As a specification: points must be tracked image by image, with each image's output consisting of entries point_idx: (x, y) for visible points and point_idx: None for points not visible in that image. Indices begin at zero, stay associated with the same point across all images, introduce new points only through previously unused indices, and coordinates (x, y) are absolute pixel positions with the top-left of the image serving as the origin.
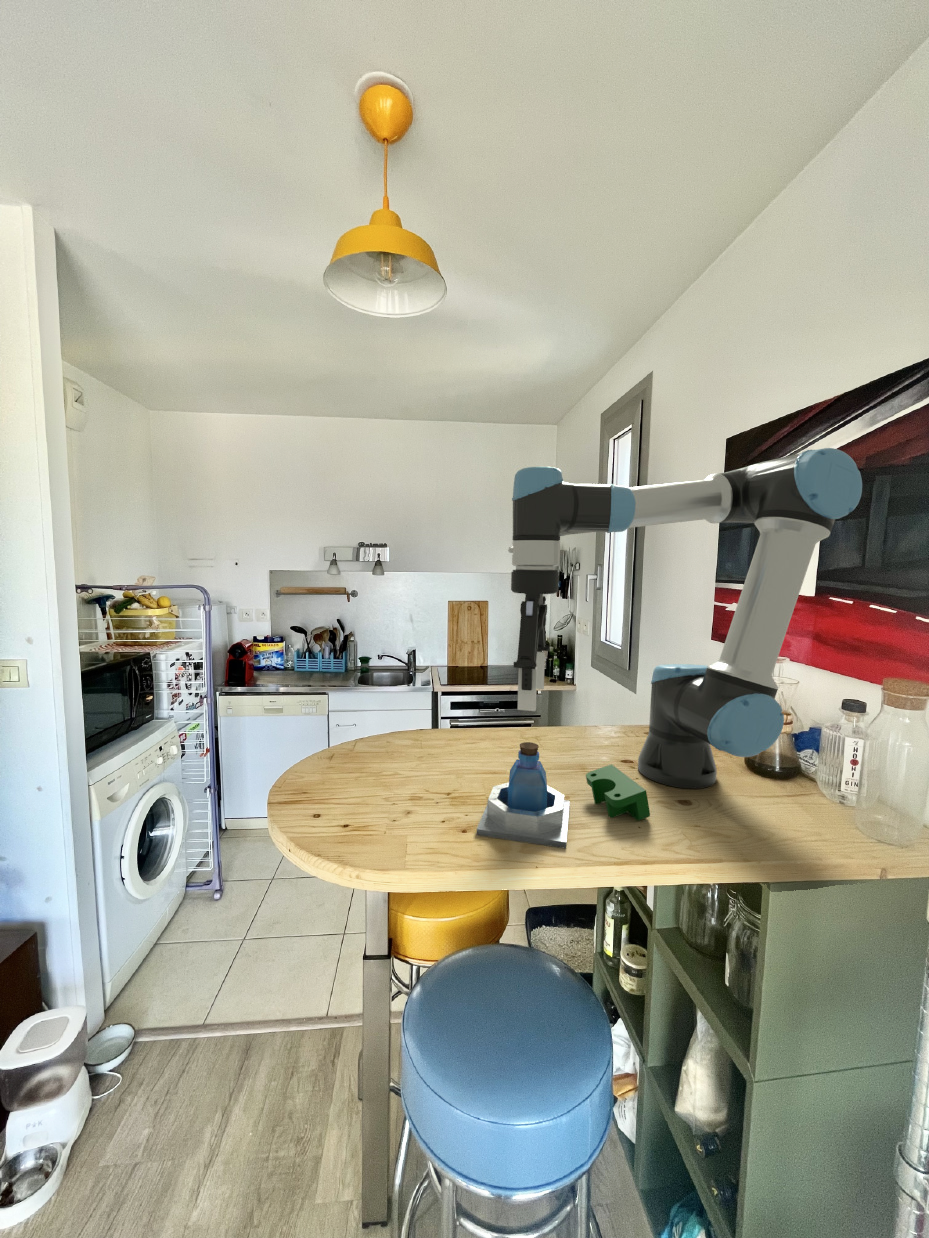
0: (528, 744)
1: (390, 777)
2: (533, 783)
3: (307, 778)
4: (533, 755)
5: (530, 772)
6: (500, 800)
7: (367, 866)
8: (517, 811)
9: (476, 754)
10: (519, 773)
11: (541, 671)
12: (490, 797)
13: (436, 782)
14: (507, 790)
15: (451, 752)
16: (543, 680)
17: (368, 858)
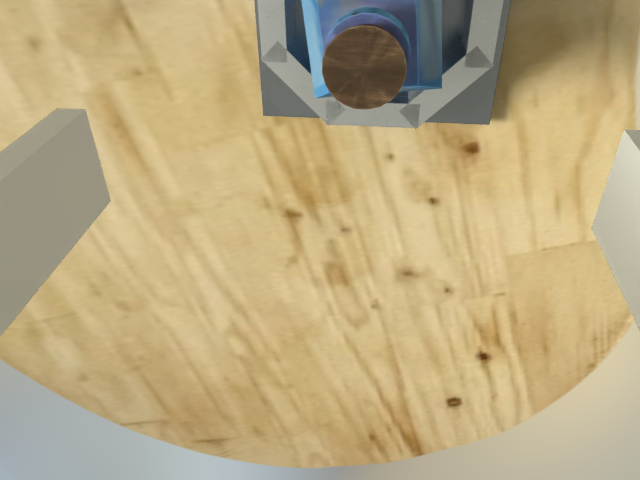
0: (351, 73)
1: (256, 337)
2: (436, 3)
3: (316, 448)
4: (393, 36)
5: (420, 27)
6: None
7: None
8: (482, 31)
9: None
10: (424, 67)
11: (22, 187)
12: (403, 122)
13: (242, 250)
14: None
15: None
16: (55, 137)
17: (602, 297)
